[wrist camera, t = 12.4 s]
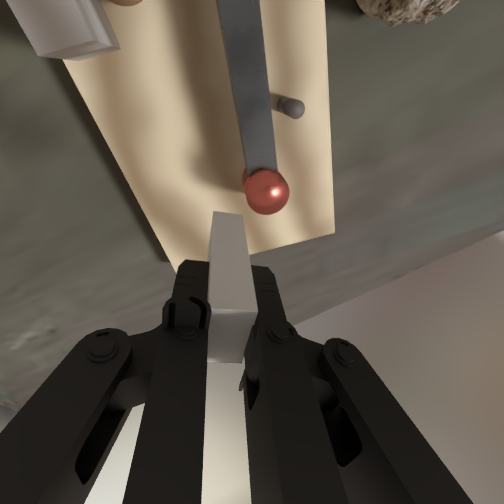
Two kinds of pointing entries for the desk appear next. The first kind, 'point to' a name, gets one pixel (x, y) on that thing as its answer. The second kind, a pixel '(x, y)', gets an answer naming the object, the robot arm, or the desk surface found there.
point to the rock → (405, 10)
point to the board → (197, 110)
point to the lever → (252, 103)
